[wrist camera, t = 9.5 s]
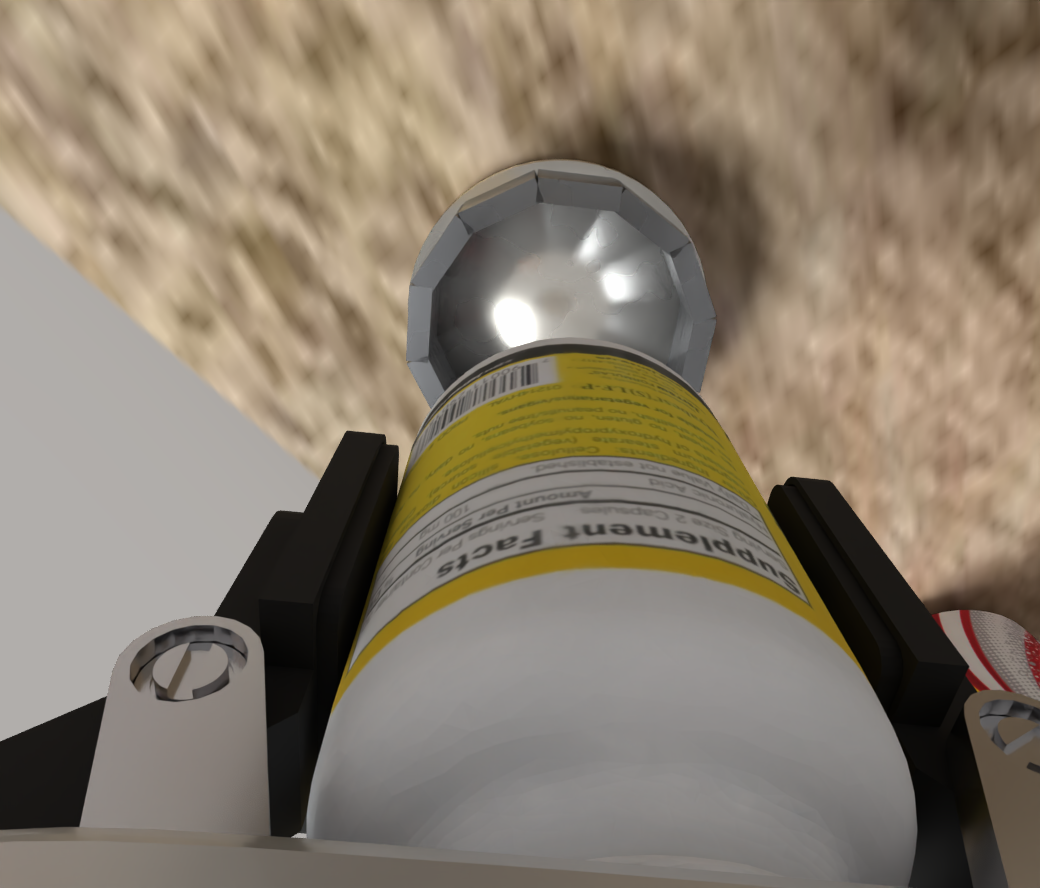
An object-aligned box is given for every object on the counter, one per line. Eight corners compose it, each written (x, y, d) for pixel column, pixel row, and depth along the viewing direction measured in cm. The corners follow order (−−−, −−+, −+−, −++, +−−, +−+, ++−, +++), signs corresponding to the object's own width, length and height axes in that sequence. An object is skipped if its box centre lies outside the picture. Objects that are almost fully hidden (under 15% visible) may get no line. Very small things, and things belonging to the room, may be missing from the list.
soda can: (1056, 690, 29) (1370, 1056, 18) (879, 760, 31) (1069, 1131, 20) (998, 560, 26) (1324, 895, 15) (809, 644, 28) (983, 997, 17)
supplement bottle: (668, 630, 14) (884, 1509, 6) (388, 571, 14) (134, 1434, 5) (777, 371, 12) (1450, 1172, 3) (445, 289, 12) (163, 969, 3)
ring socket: (733, 178, 21) (758, 190, 19) (671, 458, 25) (686, 497, 22) (418, 140, 21) (403, 148, 18) (404, 429, 24) (391, 466, 22)
